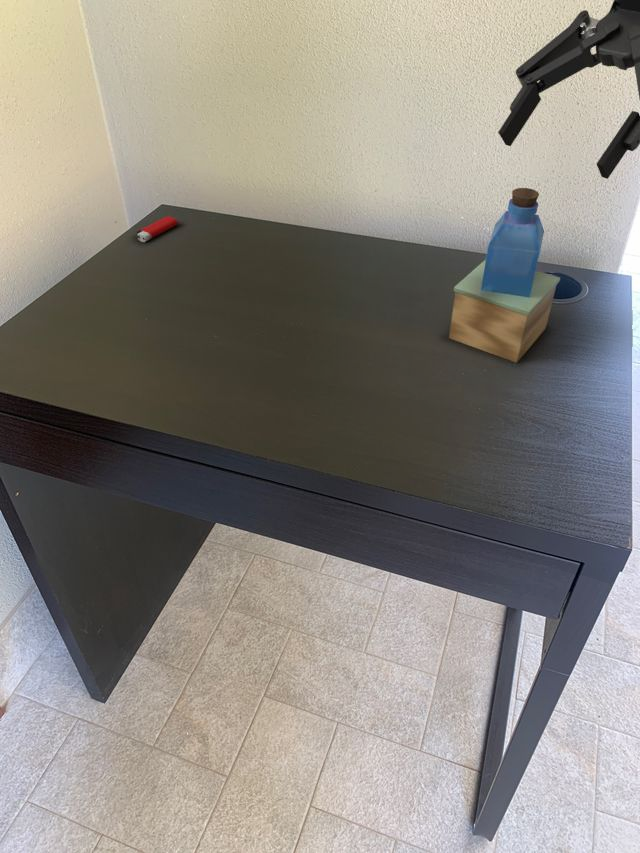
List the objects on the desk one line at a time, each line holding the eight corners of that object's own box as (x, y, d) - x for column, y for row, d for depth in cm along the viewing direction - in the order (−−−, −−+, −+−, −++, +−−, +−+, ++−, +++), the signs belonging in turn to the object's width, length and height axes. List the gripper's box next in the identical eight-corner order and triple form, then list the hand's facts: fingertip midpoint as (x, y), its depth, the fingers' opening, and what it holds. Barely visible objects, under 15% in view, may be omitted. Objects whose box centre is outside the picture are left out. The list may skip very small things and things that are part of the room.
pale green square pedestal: (547, 328, 96) (560, 277, 91) (517, 364, 90) (529, 311, 84) (479, 306, 101) (488, 256, 95) (446, 338, 94) (453, 287, 89)
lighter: (177, 219, 120) (144, 236, 116) (178, 226, 121) (145, 243, 116) (165, 215, 122) (132, 232, 117) (166, 222, 122) (134, 239, 118)
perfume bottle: (529, 297, 87) (550, 206, 79) (480, 289, 88) (495, 200, 80) (534, 274, 91) (554, 186, 83) (487, 267, 93) (502, 180, 85)
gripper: (776, 29, 72) (654, 204, 75) (575, -4, 87) (479, 144, 89) (775, -25, 66) (643, 167, 69) (559, -51, 81) (457, 109, 83)
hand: (550, 155), depth 79 cm, fingers open, 13 cm apart
